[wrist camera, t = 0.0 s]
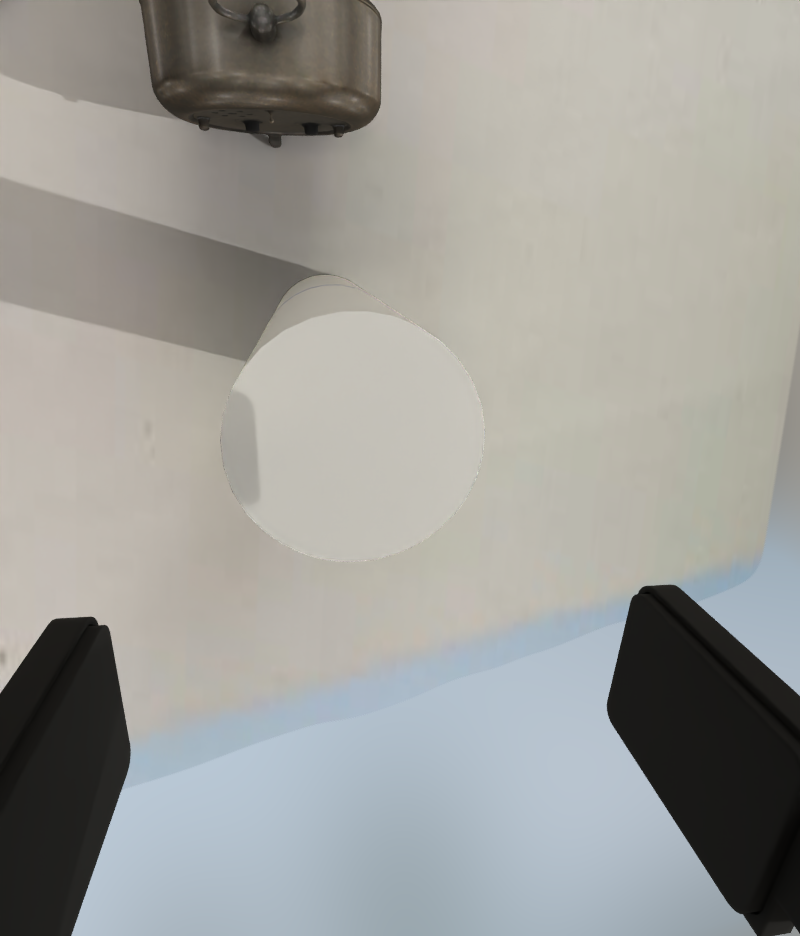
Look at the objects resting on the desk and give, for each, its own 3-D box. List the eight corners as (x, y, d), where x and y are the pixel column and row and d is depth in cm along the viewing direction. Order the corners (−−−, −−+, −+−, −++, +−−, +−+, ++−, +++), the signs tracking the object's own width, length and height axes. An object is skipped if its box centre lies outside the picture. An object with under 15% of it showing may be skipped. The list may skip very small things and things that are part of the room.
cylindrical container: (300, 254, 36) (288, 255, 13) (395, 306, 38) (532, 387, 15) (257, 352, 38) (178, 508, 15) (350, 396, 40) (410, 593, 17)
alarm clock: (366, 57, 32) (418, -109, 18) (367, 160, 34) (413, 90, 19) (173, 43, 31) (48, -154, 16) (185, 152, 33) (84, 69, 18)
